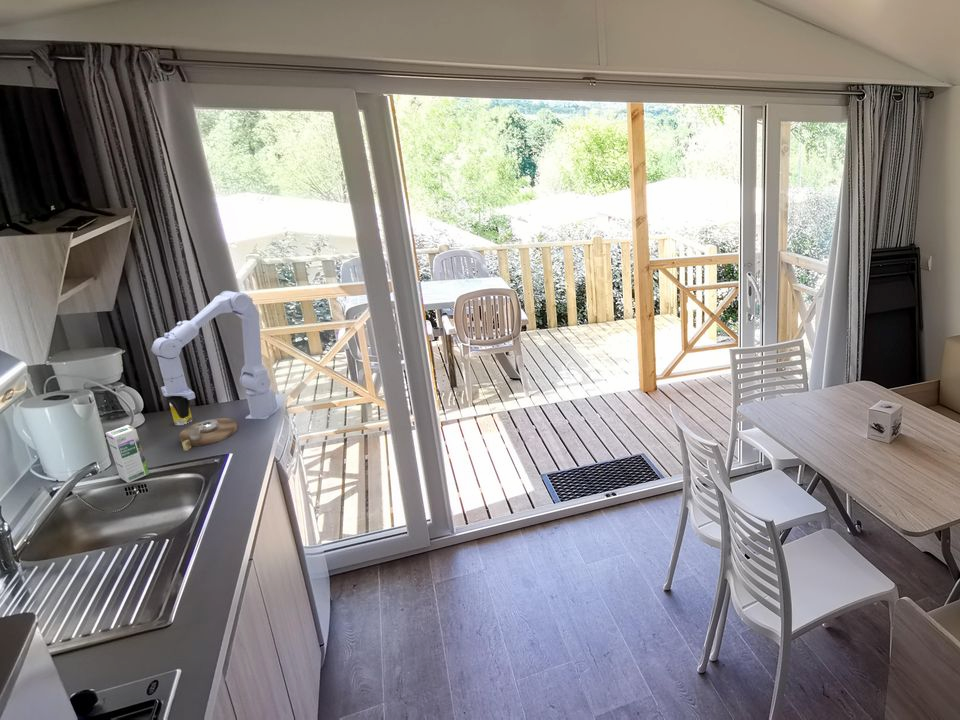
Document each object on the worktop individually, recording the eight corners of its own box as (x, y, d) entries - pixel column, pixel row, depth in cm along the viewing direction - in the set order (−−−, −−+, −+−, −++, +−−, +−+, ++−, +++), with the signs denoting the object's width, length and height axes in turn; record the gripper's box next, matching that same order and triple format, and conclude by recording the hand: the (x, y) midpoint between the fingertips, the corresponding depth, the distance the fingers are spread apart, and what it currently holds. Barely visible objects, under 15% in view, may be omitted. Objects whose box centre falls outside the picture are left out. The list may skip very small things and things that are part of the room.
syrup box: (128, 483, 149) (113, 436, 144) (119, 477, 152) (104, 431, 148) (149, 474, 153) (136, 428, 148) (140, 468, 156) (127, 423, 152)
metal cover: (194, 433, 173) (192, 427, 172) (205, 425, 178) (204, 419, 178) (211, 433, 172) (210, 427, 171) (222, 425, 178) (220, 419, 177)
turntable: (201, 422, 185) (197, 408, 183) (247, 422, 182) (244, 408, 181) (168, 446, 169) (164, 431, 167) (218, 446, 167) (214, 431, 165)
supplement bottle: (191, 424, 184) (183, 397, 181) (173, 427, 183) (165, 400, 180) (194, 418, 190) (187, 391, 186) (177, 421, 188) (169, 394, 185)
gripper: (147, 377, 164) (158, 418, 168) (174, 384, 156) (185, 426, 161) (169, 369, 169) (180, 409, 174) (197, 375, 162) (207, 416, 166)
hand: (184, 416), depth 168 cm, fingers closed
